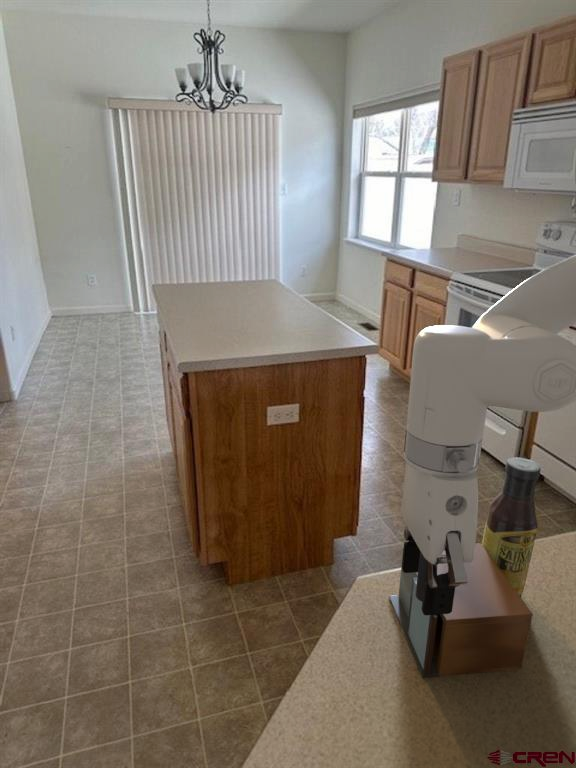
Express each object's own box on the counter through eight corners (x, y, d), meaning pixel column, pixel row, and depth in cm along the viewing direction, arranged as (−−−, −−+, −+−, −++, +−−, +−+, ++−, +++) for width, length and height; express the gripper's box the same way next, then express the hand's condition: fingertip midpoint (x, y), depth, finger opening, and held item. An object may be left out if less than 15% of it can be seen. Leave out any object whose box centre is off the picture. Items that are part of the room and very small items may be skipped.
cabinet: (472, 591, 74) (480, 542, 71) (521, 669, 62) (532, 613, 59) (388, 597, 73) (393, 548, 70) (421, 677, 60) (428, 621, 58)
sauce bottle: (491, 612, 70) (514, 479, 64) (465, 581, 76) (483, 456, 69) (533, 603, 72) (560, 472, 65) (504, 573, 78) (526, 450, 71)
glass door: (416, 630, 67) (427, 534, 62) (436, 673, 61) (449, 571, 56) (401, 631, 66) (411, 535, 62) (419, 675, 60) (431, 572, 56)
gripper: (520, 488, 47) (492, 648, 53) (444, 414, 63) (429, 542, 69) (438, 492, 46) (419, 654, 52) (382, 416, 62) (373, 546, 68)
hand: (425, 589), depth 60 cm, fingers open, 6 cm apart
